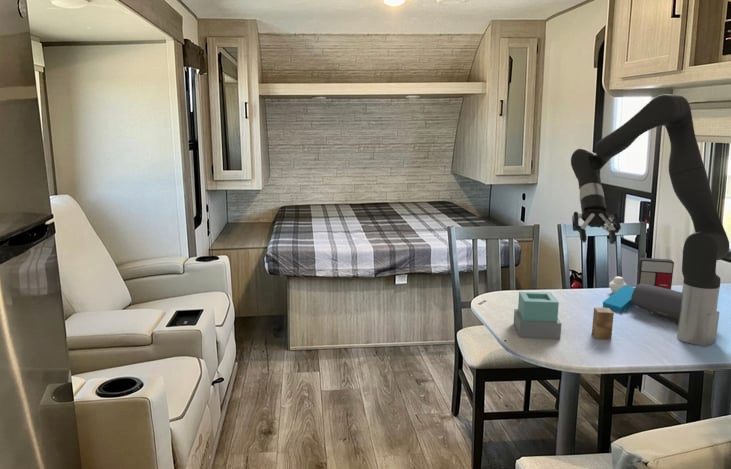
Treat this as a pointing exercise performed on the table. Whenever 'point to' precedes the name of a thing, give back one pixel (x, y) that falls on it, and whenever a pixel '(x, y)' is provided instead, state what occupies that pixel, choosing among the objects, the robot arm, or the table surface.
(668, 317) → the bluetooth speaker
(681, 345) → the table surface
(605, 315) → the walnut brick
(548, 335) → the tower base
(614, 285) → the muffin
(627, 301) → the blue rectangular block
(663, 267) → the color panel box
